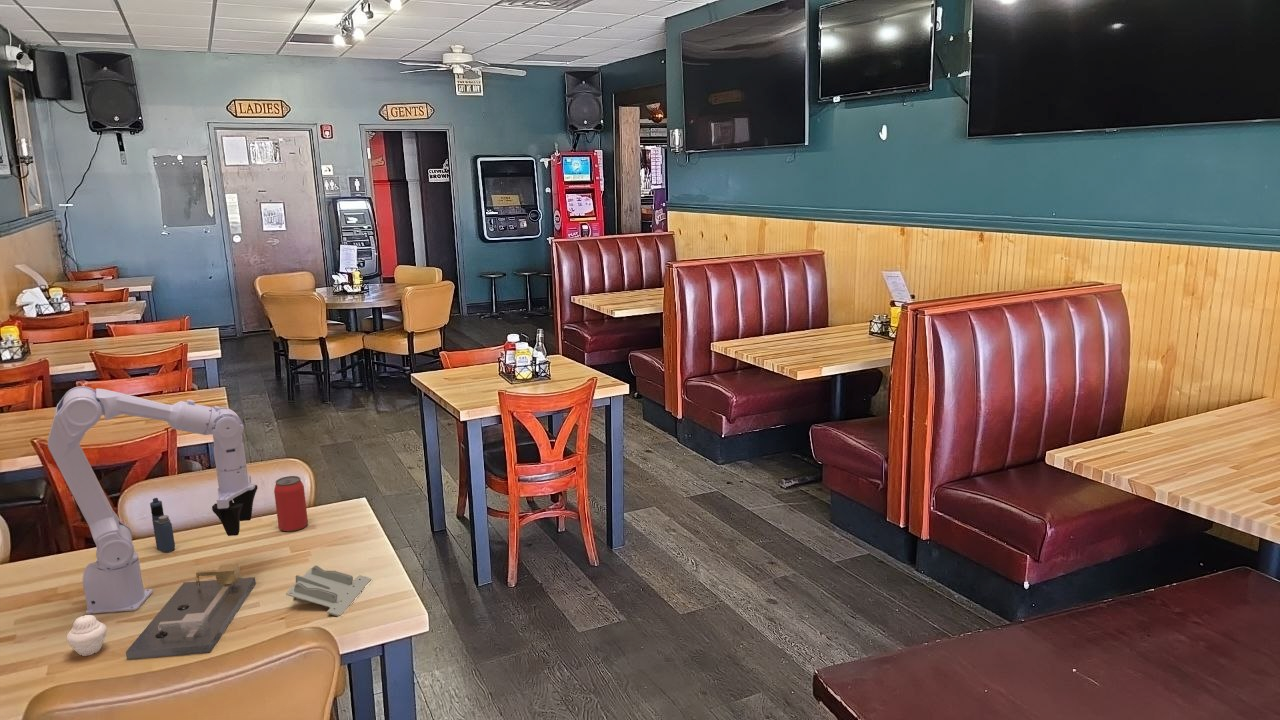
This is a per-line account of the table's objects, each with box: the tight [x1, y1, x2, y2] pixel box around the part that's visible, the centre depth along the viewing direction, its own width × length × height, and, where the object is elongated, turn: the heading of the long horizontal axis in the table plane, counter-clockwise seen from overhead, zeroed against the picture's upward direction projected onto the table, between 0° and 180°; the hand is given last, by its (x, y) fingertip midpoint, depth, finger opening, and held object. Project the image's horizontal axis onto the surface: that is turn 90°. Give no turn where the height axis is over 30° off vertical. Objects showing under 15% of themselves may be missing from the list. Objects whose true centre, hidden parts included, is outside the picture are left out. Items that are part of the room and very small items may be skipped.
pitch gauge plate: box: [125, 576, 257, 660], centre depth 164 cm, size 14×26×4 cm, turn 7°
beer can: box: [273, 475, 309, 532], centre depth 204 cm, size 7×7×12 cm
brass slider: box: [195, 563, 242, 586], centre depth 173 cm, size 8×3×3 cm, turn 97°
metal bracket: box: [285, 564, 373, 617], centre depth 171 cm, size 14×6×15 cm
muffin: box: [66, 614, 108, 657], centre depth 153 cm, size 6×6×7 cm
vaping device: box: [149, 497, 176, 553], centre depth 193 cm, size 3×5×12 cm, turn 54°
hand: (239, 527), depth 180 cm, fingers open, 7 cm apart
